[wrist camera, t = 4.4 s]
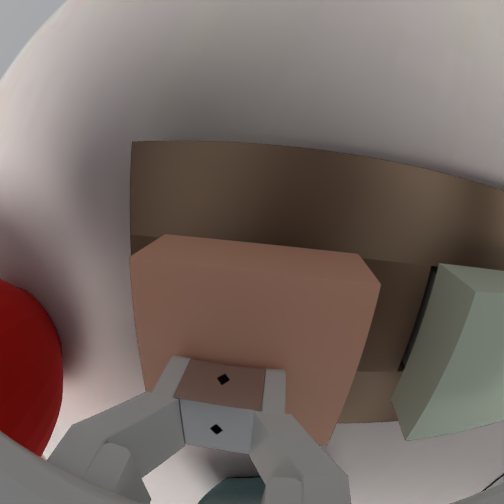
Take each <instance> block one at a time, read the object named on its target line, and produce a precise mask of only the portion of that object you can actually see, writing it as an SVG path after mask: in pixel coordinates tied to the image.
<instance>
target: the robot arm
mask: <svg viewBox="0 0 504 504" xmlns="http://www.w3.org/2000/svg"><path fill="white" fill-rule="evenodd" d="M285 409H286V371H285V370H282V369H267V368H266V371H265V369H262V368H252V367H243V366H235V365H228V364H222V363H216V362H210V361H204V360H199V359H193V358H192V359H191V358H187V357H182V356H177V355H174V356H173V357H171V358H170V360H169V362H168V364H167V366H166V367H165V369H164V371H163V373H162V375H161V376H160V378H159V380H158V382H157V384H156V385H155V387H154V389H153V391H152V393H150V392H144V393H142V394H140V395H138V396H136V397H134V398H132V399H130V400H128V401H125V402H123V403H121V404H119V405H117V406H115V407H112V408H110V409H108V410H106V411H103V412H101V413H99V414H97V415H94V416H92V417H90V418H87V419H85V420H83V421H80V422H78V423H76V424H73V425H72V426H71V427H70V428H69V430H68V431H67V433H66V434H65V435H64V437H63V438H62V440H61V441H60V442H59V444H58V445H57V447H56V448H55V449H54V451H53V452H52V454H51V455H50V457H49V458H48V460H47V461H46V460H44V459H43V458H41V457H39V456H37V455H36V454H34V453H33V452H31V451H29V450H28V449H26V448H25V447H23V446H22V445H20V444H19V443H17V442H16V441H14V440H13V439H11V438H10V437H8V436H7V435H6V434H4V433H3V432H1V431H0V504H150V501H151V497H150V495H149V493H148V491H147V489H146V487H145V485H144V483H143V481H142V479H141V478H142V477H144V476H145V475H147V474H148V473H149V472H151V471H152V470H154V469H155V468H156V467H158V466H159V465H160V464H162V463H163V462H164V461H166V460H167V459H168V458H170V457H171V456H172V455H173V454H175V453H176V452H177V451H179V450H180V449H181V448H182V447H184V446H185V444H188V445H194V446H200V447H206V448H212V449H219V450H224V451H230V452H237V453H243V454H249V456H250V458H251V460H252V462H253V464H254V465H255V467H256V469H257V471H258V473H259V474H260V476H261V478H262V480H263V481H264V483H265V485H266V487H265V490H264V494H263V498H262V501H261V504H351V497H350V489H349V481H348V475H347V474H346V473H345V472H344V471H343V470H342V469H341V468H340V467H339V466H338V465H337V464H336V463H335V462H334V461H333V460H332V459H331V458H330V457H329V456H328V454H327V453H326V452H325V451H324V450H323V449H322V448H321V447H320V446H319V445H318V444H317V443H316V441H315V440H314V439H313V438H312V437H311V436H310V435H309V434H308V433H307V431H306V430H305V429H304V428H303V427H302V426H301V425H300V423H299V422H298V421H297V420H296V419H295V418H294V417H293V415H292V414H285ZM450 504H504V476H503V477H501V478H500V479H499V480H497V481H496V482H495V483H494V484H492V485H491V486H490V487H489V488H487V489H486V490H485V491H482V492H480V493H477V494H475V495H472V496H470V497H467V498H465V499H462V500H459V501H456V502H453V503H450Z"/></svg>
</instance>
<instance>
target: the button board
mask: <svg viewBox="0 0 504 504" xmlns="http://www.w3.org/2000/svg"><path fill="white" fill-rule="evenodd" d="M165 234H169V235H179V236H189V237H200V238H210V239H220V240H230V241H240V242H250V243H260V244H270V245H279V246H289V247H299V248H308V249H317V250H327V251H336V252H345V253H354V254H359V256H360V257H361V258H362V259H363V261H364V262H365V263H366V265H367V266H368V267H369V269H370V270H371V271H372V273H373V274H374V275H375V277H376V278H377V280H378V281H379V282H380V284H381V287H380V291H379V295H378V299H377V303H376V307H375V311H374V315H373V318H372V322H371V326H370V329H369V333H368V336H367V339H366V343H365V346H364V349H363V352H362V355H361V359H360V362H359V365H358V368H357V371H356V373H355V376H354V379H353V382H352V385H351V388H350V390H349V393H348V396H347V398H346V401H345V404H344V406H343V409H342V411H341V414H340V416H339V419H338V421H337V423H371V422H389V421H398V418H397V415H396V412H395V409H394V407H393V404H392V401H391V398H392V396H393V394H394V391H395V389H396V387H397V385H398V383H399V380H400V378H401V376H402V373H403V371H404V369H405V366H404V364H403V362H402V358H403V355H404V353H405V350H406V347H407V345H408V342H409V339H410V336H411V333H412V331H413V328H414V325H415V322H416V319H417V315H418V312H419V309H420V306H421V303H422V299H423V296H424V292H425V289H426V285H427V281H428V278H429V274H430V270H431V266H437V267H438V266H439V263H442V264H451V265H459V266H468V267H476V268H484V269H492V270H500V271H504V191H503V190H500V189H497V188H493V187H490V186H487V185H484V184H481V183H477V182H474V181H470V180H467V179H463V178H460V177H456V176H452V175H449V174H445V173H441V172H437V171H433V170H429V169H424V168H420V167H416V166H411V165H406V164H402V163H397V162H392V161H387V160H382V159H376V158H371V157H365V156H359V155H353V154H346V153H339V152H332V151H325V150H317V149H309V148H300V147H291V146H280V145H269V144H256V143H240V142H218V141H138V142H132V150H131V173H130V236H131V256H132V255H133V254H135V253H137V252H138V251H140V250H141V249H143V248H144V247H146V246H147V245H149V244H150V243H152V242H154V241H155V240H157V239H158V238H160V237H161V236H163V235H165Z"/></svg>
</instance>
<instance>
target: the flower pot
mask: <svg viewBox="0 0 504 504" xmlns="http://www.w3.org/2000/svg"><path fill="white" fill-rule="evenodd" d="M265 487H266V485H265V483H264V481H263V480H262V478H261V477H258V478H227V479H225V480H223V481H222V482H220V483H219V484H218V485H216V486H215V487H214V488H213V489H211V490H210V491H209V492H208V493H207V494H206V495H205V496H204V497H203V498H202V499H201V500H200V501H199V503H198V504H261V501H262V498H263V494H264V490H265Z"/></svg>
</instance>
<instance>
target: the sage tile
mask: <svg viewBox="0 0 504 504" xmlns="http://www.w3.org/2000/svg"><path fill="white" fill-rule="evenodd" d="M402 362H403V364H404V366H405V369H404V371H403V373H402V376H401V378H400V380H399V383H398V385H397V387H396V389H395V391H394V394H393V396H392V398H391V401H392V404H393V407H394V409H395V412H396V415H397V418H398V421H399V424H400V427H401V430H402V433H403V436H404V439H405V441H409V440H417V439H424V438H430V437H436V436H442V435H447V434H452V433H457V432H461V431H466V430H470V429H474V428H478V427H482V426H486V425H489V424H493V423H496V422H499V421H503V420H504V271H500V270H492V269H484V268H476V267H468V266H459V265H451V264H442V263H439V266H438V267H437V266H431V270H430V274H429V278H428V281H427V285H426V289H425V292H424V296H423V299H422V303H421V306H420V309H419V312H418V315H417V319H416V322H415V325H414V328H413V331H412V333H411V336H410V339H409V342H408V345H407V347H406V350H405V353H404V355H403V358H402Z"/></svg>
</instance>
